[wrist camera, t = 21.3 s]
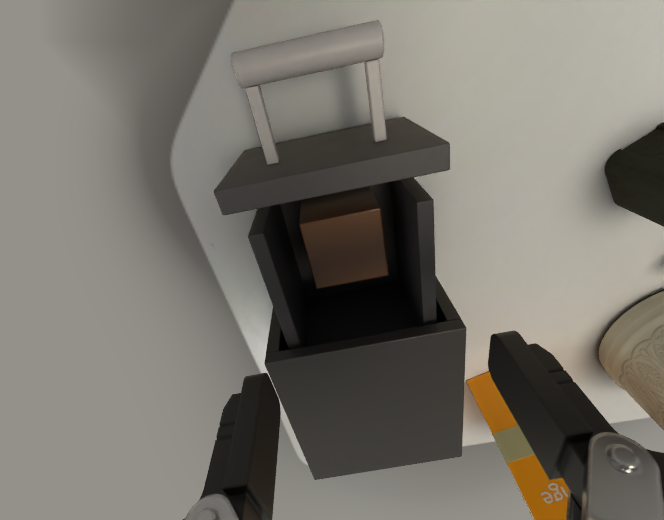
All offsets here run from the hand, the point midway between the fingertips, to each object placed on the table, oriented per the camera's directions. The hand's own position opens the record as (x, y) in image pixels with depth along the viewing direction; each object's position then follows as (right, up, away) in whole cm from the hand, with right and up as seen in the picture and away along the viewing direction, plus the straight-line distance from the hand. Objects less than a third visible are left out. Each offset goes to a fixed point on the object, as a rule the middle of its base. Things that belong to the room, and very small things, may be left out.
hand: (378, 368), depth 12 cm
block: (-1, +7, +11) cm, 13 cm away
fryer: (+1, -2, +18) cm, 18 cm away
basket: (-2, +9, +11) cm, 14 cm away
